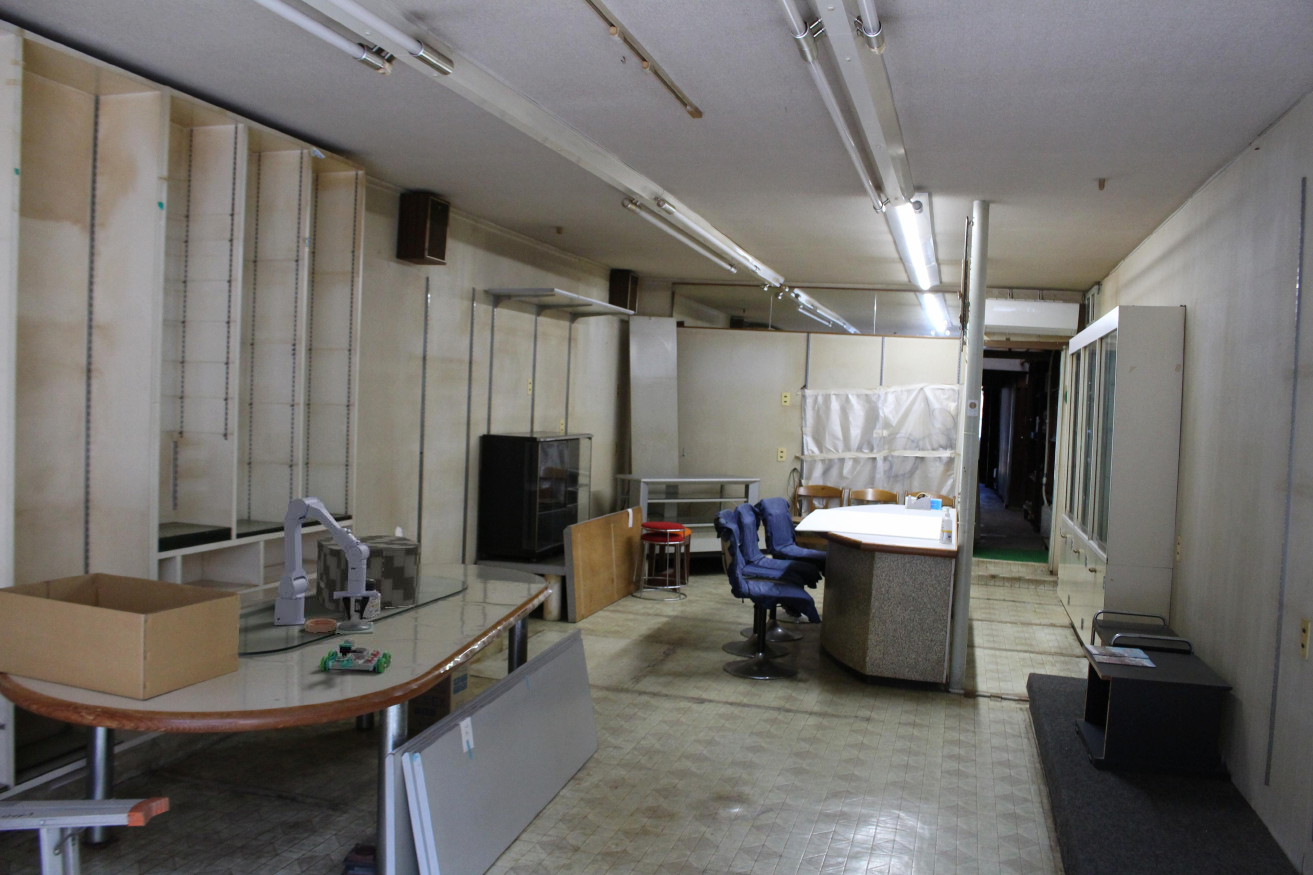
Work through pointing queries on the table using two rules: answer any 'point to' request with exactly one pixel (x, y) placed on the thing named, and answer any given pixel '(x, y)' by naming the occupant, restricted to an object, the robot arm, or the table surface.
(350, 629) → the lid
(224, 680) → the table surface
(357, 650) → the robot kit
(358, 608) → the container
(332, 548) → the storage box
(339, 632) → the mat
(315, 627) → the bowl
